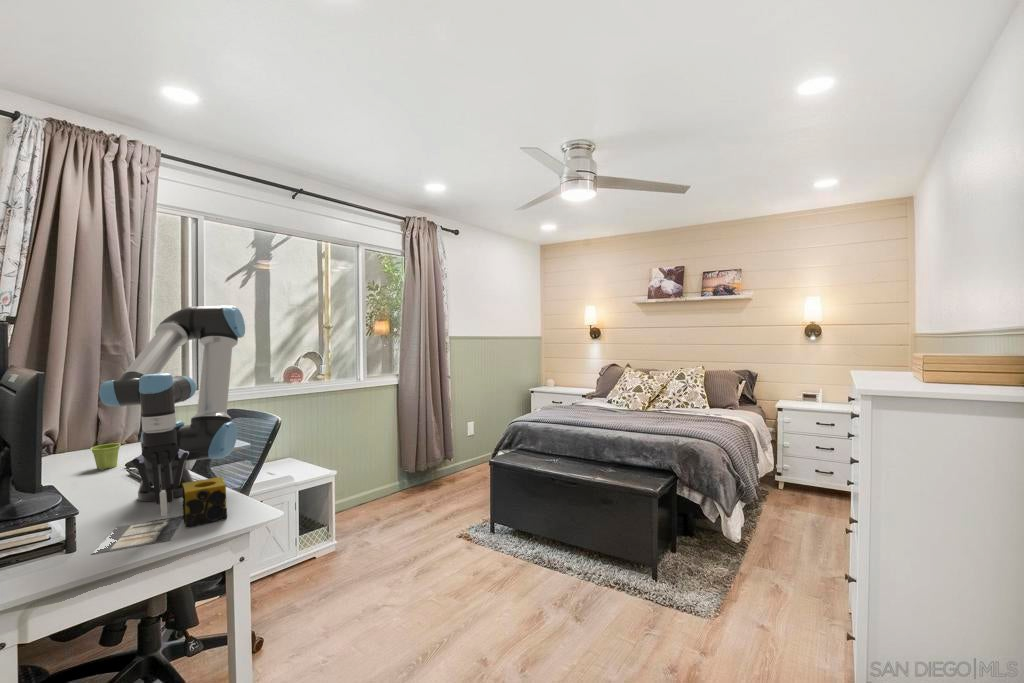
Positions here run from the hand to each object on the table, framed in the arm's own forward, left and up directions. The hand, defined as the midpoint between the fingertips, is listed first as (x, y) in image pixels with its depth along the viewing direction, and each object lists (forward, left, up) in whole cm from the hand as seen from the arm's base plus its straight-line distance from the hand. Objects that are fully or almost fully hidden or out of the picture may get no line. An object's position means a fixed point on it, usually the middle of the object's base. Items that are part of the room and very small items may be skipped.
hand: (165, 514), depth 134 cm
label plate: (+4, -4, -3) cm, 7 cm away
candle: (+1, +9, -3) cm, 10 cm away
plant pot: (-82, -37, -3) cm, 90 cm away
